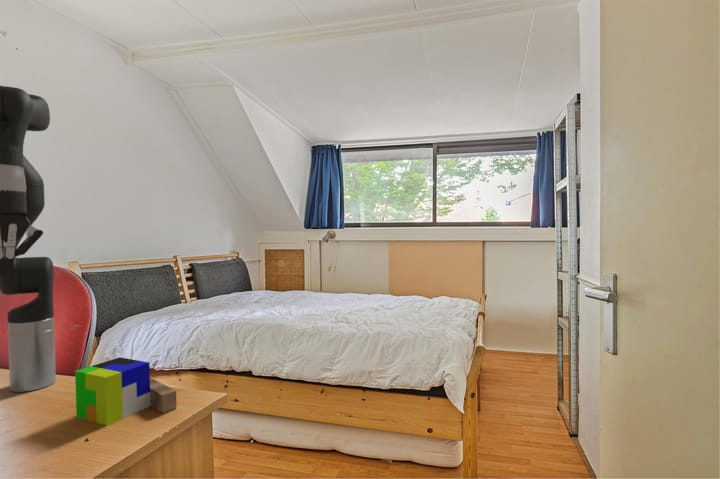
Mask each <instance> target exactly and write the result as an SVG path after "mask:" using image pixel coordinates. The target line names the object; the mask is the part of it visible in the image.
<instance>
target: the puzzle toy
mask: <svg viewBox="0 0 720 479" xmlns="http://www.w3.org/2000/svg"><path fill="white" fill-rule="evenodd" d="M150 365H151V364H150V362H148V361H144V360H137V359H133V358H132V359H131V358H127V357H122V356H121V357H116V358H113V359H110V360H107V361H103V362H99V363H98V364H94V365H90V366H87V367H85V368H82V369H78V370H75V371H74V373H75V375H74V376H75V403H76V405H75V409H76V410H75V411H76V413H75V414H76V415H75V416H76V418H78V419H82V420H86V421H89V422H93V423H96V424H99V425H103V426H110V425H112V424H114V423H117V422H118V421H121V420H123V419H125V418H127V417H130V416H132V415H134V414H136V413H138V412H140V410H141V411H143V410H145V409H147V408H149V407H152V406H151V405H150V378H151V375H150V374H151V370H150Z"/></svg>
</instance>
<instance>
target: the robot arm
mask: <svg viewBox="0 0 720 479" xmlns="http://www.w3.org/2000/svg"><path fill="white" fill-rule="evenodd" d="M50 122H51V114H50V108H49V105H48V102H47V101H46V99H45V98H43V97H41V96H39V95H36V94H30V93H28V92H26V91H25V90H23V89H22V88H19V87H12V86H5V85H0V292H1V293H2V294H3V295H6V296H7V295H8V296H9V295H12V296H13V295H23V294H24V295H25V294H35V293H37V296H36V297H35V298H34V299H32V300H30V301H28V302H27V303H25V304H22V305H19V306H16V307H13V308H12V309H10V310H8V312H7V336H8V366H9V367H8V368H9V369H8V370H9V390H10V392H15V393H21V392H22V393H23V392H24V393H25V392H29V391H30V392H31V391H36V390H40V389H43V388H45V387H46V388H47V387H49V386H51V385H53V384H55V382H57V381H56V376H57V375H56V346H55V345H56V344H55V343H56V342H55V340H56V339H55V337H56V336H55V317H54V316H55V315H54V313H55V312H54V311H55V310H54V274H55V270H54V263H53V261H52V258H50V257H48V256H30V257H19V256H23V255H25V254H26V253H27V252H28V251H29V250H30V249H31V248H32V247H33V246H34V244H35V243H37V241H38V240H39V239H41V237H42V236H43V234H44V231H43V230H42V229H38V228H36V227H35V226H33V224H34V222H35V221H36V220H38V218H39V216H40V215H41V214H42V212H43V210H44V209H45V208H44V207H45V203H46V202H45V183H44V180H43V178H42V177H41V175H40V173H39V172H38V170H36V169H35V167H34V166H33V164H31V163H30V161H29V160H28V159H27V157H26V156H25V155H24V144H25V143H24V142H25V138H26V133H27V131H28V132H43V131H45V130H48V128H49V126H50ZM25 235H26V238H25V239H24V240H23V241H22V239H23V237H24V236H25ZM21 241H22V242H21ZM20 242H21V244H20ZM19 244H20V245H19Z"/></svg>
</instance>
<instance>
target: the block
mask: <svg viewBox="0 0 720 479" xmlns="http://www.w3.org/2000/svg"><path fill="white" fill-rule="evenodd" d="M150 405H151V406H150V407H151V408H154V409H155V410H157V411H159V412H160V413H162V414H165V413H167V412H170V411H173V410H175V409H177V407H178V406H177V390H176V389H173V388H171V387H170V386H167V385H166V384H164V383H162V382H159V381H158V380H156V379H154V378H152V377H150Z"/></svg>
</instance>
